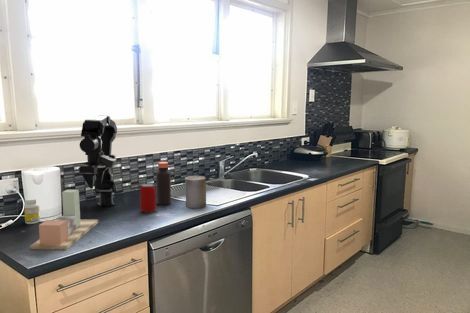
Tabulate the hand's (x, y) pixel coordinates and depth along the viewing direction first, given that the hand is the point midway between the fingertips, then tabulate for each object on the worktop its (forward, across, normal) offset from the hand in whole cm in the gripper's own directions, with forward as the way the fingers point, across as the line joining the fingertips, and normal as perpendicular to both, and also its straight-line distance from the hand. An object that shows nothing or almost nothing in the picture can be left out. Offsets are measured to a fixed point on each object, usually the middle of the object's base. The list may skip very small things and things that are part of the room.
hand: (95, 186), depth 157 cm
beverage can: (+13, +8, -20) cm, 25 cm away
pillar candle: (+13, +18, -40) cm, 46 cm away
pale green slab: (+11, -26, +2) cm, 28 cm away
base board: (+13, -23, +2) cm, 27 cm away
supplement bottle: (+13, -10, +22) cm, 28 cm away
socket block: (+12, -33, +2) cm, 35 cm away
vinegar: (+13, +21, -24) cm, 35 cm away
